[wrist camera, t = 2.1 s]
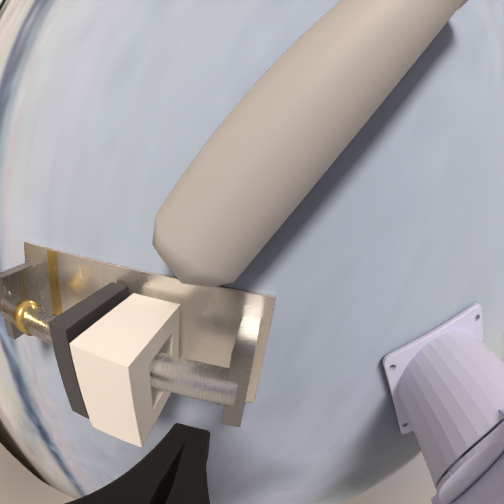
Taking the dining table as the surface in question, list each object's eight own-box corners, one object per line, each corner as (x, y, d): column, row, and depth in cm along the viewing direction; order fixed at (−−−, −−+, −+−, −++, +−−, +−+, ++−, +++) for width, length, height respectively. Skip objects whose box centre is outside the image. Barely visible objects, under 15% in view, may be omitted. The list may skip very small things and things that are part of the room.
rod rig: (275, 296, 15) (272, 340, 11) (253, 400, 17) (245, 452, 12) (25, 241, 16) (-17, 255, 12) (37, 328, 18) (3, 351, 14)
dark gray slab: (127, 286, 15) (65, 330, 10) (132, 364, 17) (88, 418, 11) (111, 282, 16) (48, 322, 10) (117, 359, 17) (72, 410, 11)
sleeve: (180, 304, 15) (128, 366, 9) (178, 379, 16) (142, 447, 10) (133, 293, 15) (69, 343, 9) (137, 367, 17) (92, 426, 11)
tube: (227, 329, 12) (485, 2, 6) (117, 268, 10) (429, -63, 4) (221, 271, 17) (436, 13, 10) (144, 223, 15) (386, -38, 8)
